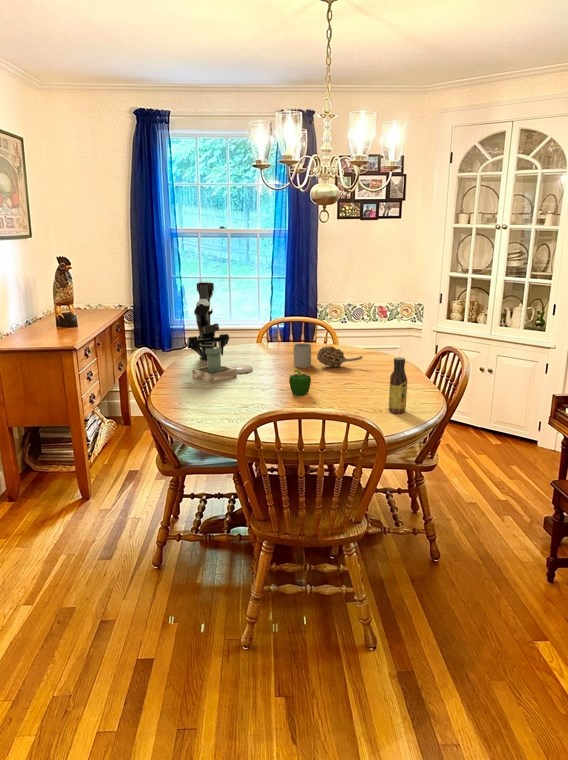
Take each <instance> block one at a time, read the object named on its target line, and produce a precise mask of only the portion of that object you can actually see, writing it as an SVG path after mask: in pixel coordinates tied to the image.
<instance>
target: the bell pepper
mask: <svg viewBox="0 0 568 760" xmlns="http://www.w3.org/2000/svg"><path fill="white" fill-rule="evenodd" d="M288 379H289V382H288V383H289V386H290V390H291V393H292V395H294V396H297V397H302V396H306V395H307V394H308V393H309V392H310V388H311V385H312V384H311V382H312V381H311V380H312V379H311V376H310V375H308V374H306V373H301V371H300V370H299V369H295V370H294V373H293V375H290V377H289V378H288Z"/></svg>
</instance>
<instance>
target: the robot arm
mask: <svg viewBox="0 0 568 760" xmlns="http://www.w3.org/2000/svg"><path fill="white" fill-rule="evenodd" d="M214 291H215V285H214V282H211V281H200V282H196V292H198V296H199V300H198V301H197V302H196V306H195V307H194V310H193V311H194V312H193V314H194V316H195V320H196V325H197V329H198V336H189V337H188V338H187V342H186V346H187V348H188V349H190V350H193V351H194V352H195V353H196V354H198V355H199V356H200V357H198V358H200V360H203V359H205V360H204V361H207V354H206V350H205V349H206V348H208V347H220V348H221V352H222V353H221V354H220V356H221V357H223V356H224V347H226V346H227V345H228V344H229V341H230V335H229V334H228V333H220V334H219V335H218V337H216V332H218V331H219V330H220V326H219V323H214V324H211V316H212V314H213V313H214V311H213V310H214V309H213V308H212V306H211V298H212V297H213V294H214Z"/></svg>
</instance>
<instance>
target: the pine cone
mask: <svg viewBox="0 0 568 760" xmlns="http://www.w3.org/2000/svg"><path fill="white" fill-rule="evenodd" d="M363 357H364V356H363V355H360V356H357V357H352V358H346V357H345V355H344V351H342V349H340V348H336V347H334V346H323V347H321V348H320V349H318V352H317V353H316V359H317V360H318V362H319V363H321V364H322V365H324V366H326V367H327V366H328V367H330V368H332V367H334V368H336V367H338V368H341V366H342V364H343V363H345V362H354V361H360V360H362V359H363Z"/></svg>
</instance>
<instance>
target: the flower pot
mask: <svg viewBox="0 0 568 760" xmlns="http://www.w3.org/2000/svg"><path fill="white" fill-rule="evenodd" d="M205 350H206V354H207V360H206V362H207V363H206V364H207V365H206V366H207V367H208V373H209V374H216V373H220V372H221V365H222V361H221V360H222V359H221V357H222V355H221V353H222V352H221V348H220V347H219V346H217V347H208V348H206V349H205Z"/></svg>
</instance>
